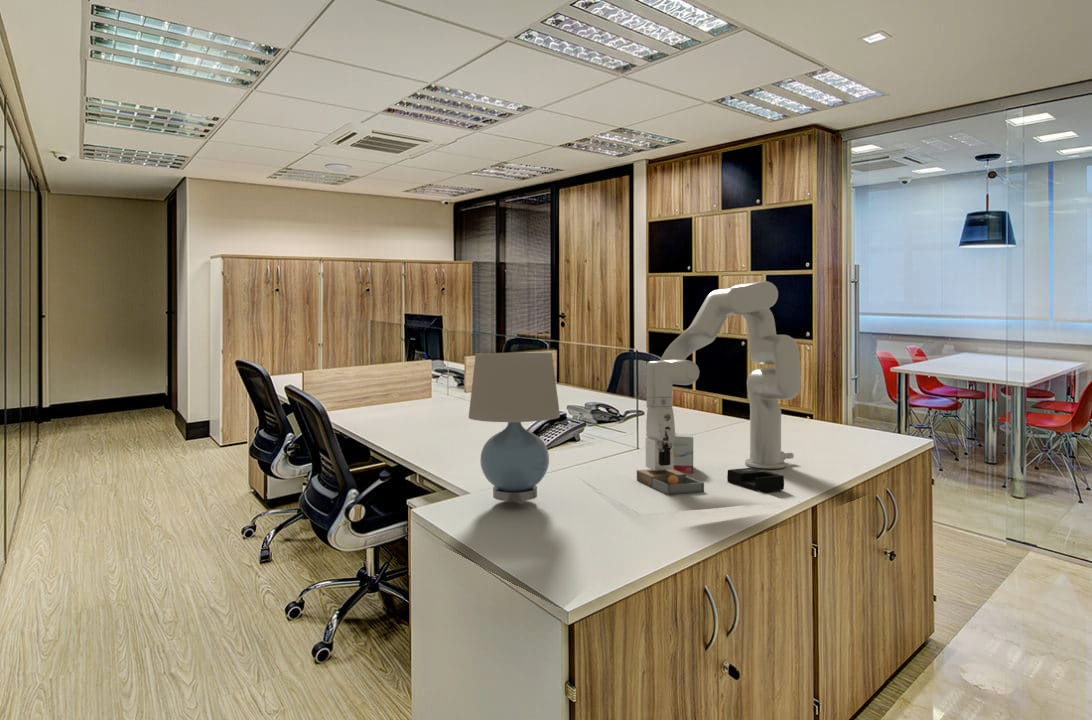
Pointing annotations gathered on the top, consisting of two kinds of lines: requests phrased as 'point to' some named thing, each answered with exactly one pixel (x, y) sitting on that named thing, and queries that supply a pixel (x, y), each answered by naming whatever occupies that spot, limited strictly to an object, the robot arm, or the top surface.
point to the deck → (655, 475)
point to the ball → (672, 480)
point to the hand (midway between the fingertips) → (659, 462)
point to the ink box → (683, 453)
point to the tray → (678, 485)
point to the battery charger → (756, 479)
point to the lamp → (514, 419)
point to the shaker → (656, 455)
